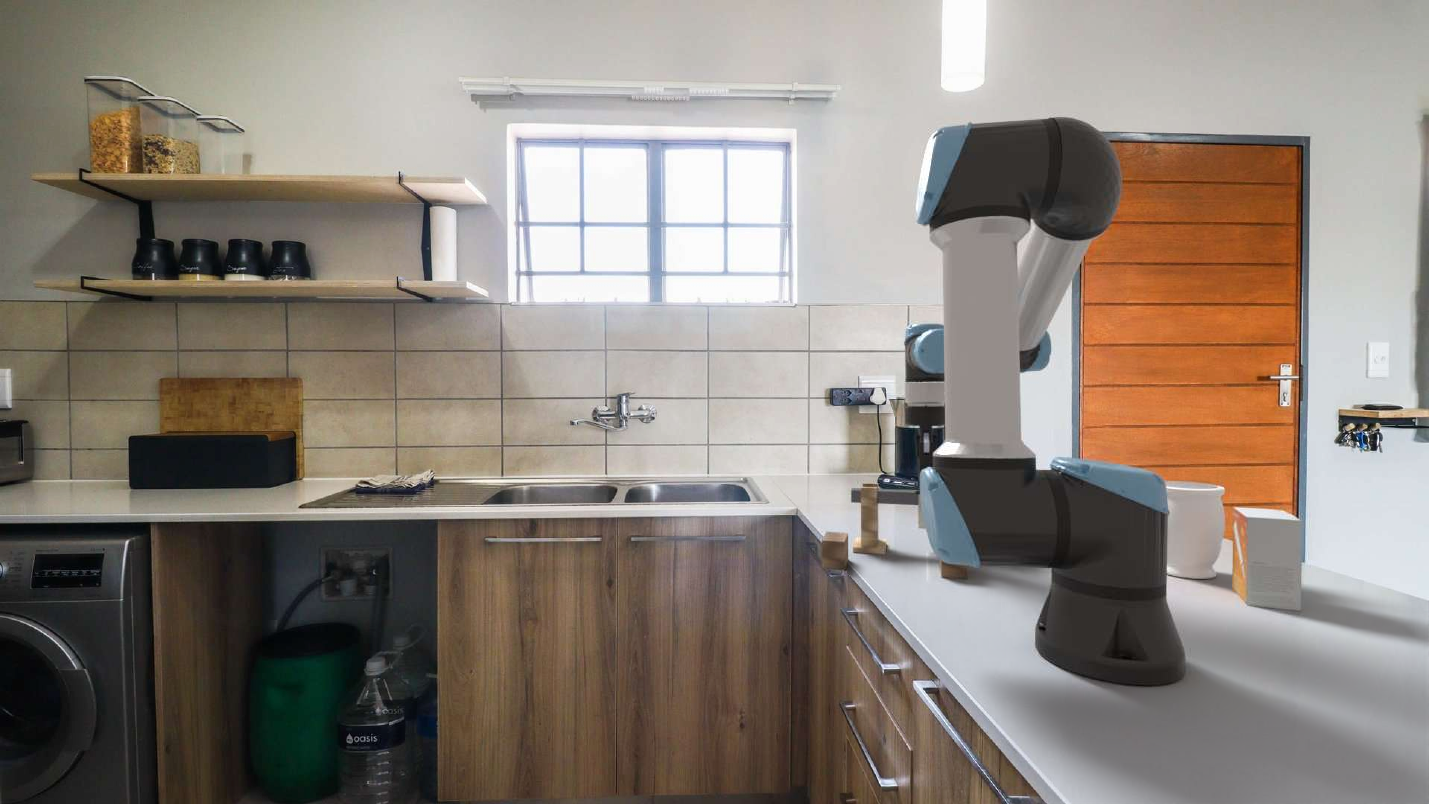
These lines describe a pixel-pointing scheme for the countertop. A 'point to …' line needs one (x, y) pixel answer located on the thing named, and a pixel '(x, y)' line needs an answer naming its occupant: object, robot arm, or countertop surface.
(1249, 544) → the small box
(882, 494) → the rail
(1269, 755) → the countertop surface
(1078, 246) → the robot arm
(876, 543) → the hook stand
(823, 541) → the block
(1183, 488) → the jar
